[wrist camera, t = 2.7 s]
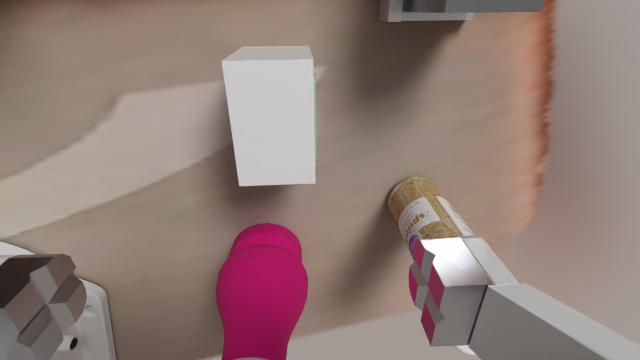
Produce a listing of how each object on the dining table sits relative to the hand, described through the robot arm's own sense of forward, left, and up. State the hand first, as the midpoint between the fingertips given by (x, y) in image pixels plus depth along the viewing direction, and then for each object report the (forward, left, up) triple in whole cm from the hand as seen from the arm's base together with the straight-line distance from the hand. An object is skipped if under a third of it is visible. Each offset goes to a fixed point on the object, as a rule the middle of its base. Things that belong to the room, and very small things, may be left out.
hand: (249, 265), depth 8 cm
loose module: (0, 0, -18) cm, 18 cm away
